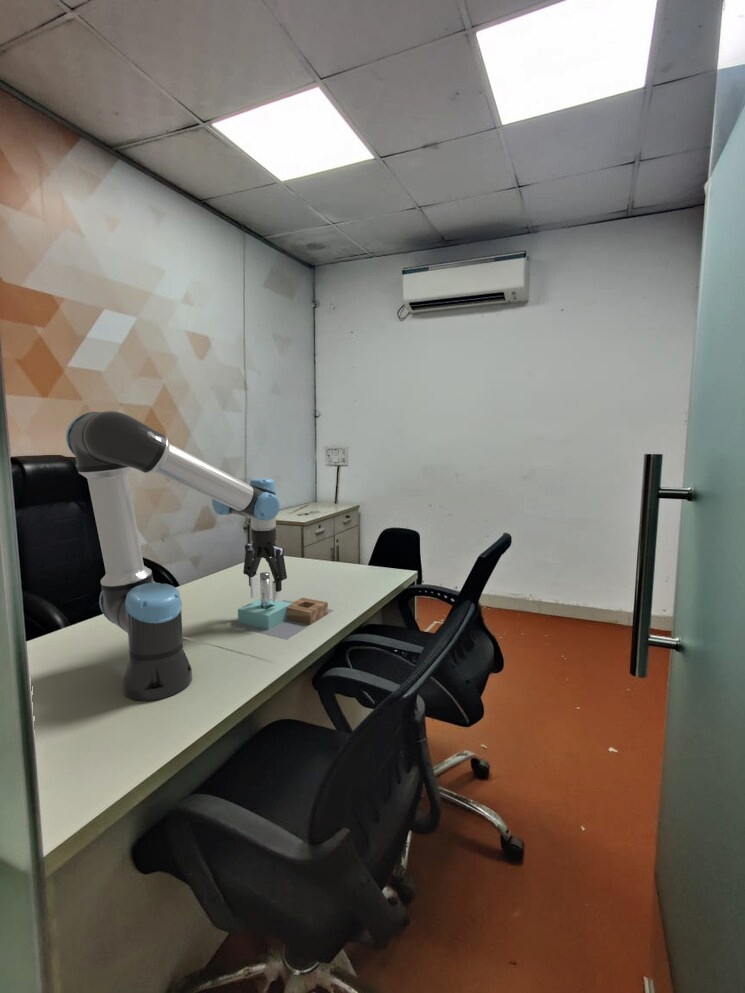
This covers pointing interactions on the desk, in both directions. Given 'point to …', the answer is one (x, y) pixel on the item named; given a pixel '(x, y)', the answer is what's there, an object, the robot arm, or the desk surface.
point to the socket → (263, 614)
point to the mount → (307, 611)
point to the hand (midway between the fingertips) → (265, 598)
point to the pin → (265, 590)
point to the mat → (278, 628)
